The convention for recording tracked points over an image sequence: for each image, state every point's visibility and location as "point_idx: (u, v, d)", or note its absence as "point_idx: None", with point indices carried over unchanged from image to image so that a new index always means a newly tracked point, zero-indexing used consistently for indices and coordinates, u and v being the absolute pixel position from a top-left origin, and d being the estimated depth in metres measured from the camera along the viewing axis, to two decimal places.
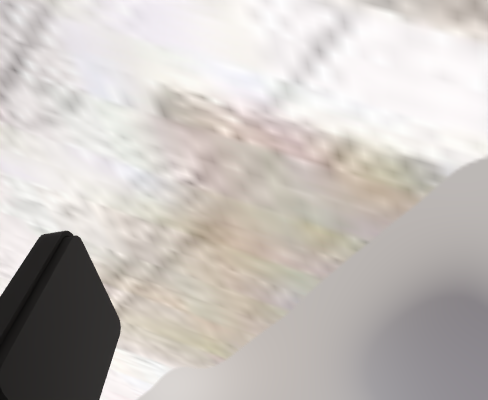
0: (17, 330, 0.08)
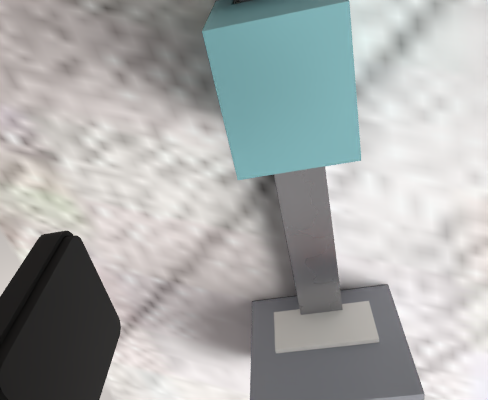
0: (17, 330, 0.08)
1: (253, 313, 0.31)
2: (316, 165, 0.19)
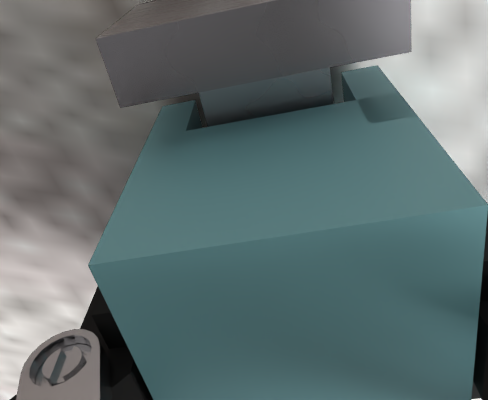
0: None
1: None
2: None
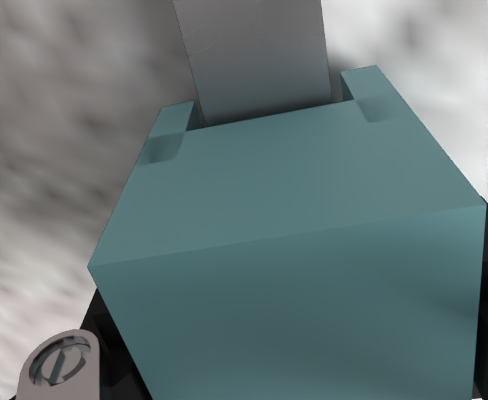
0: None
1: None
2: None
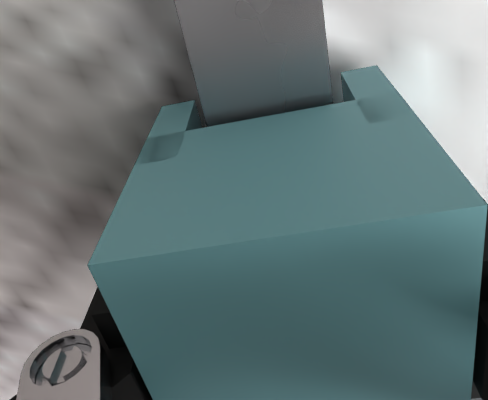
0: None
1: None
2: None
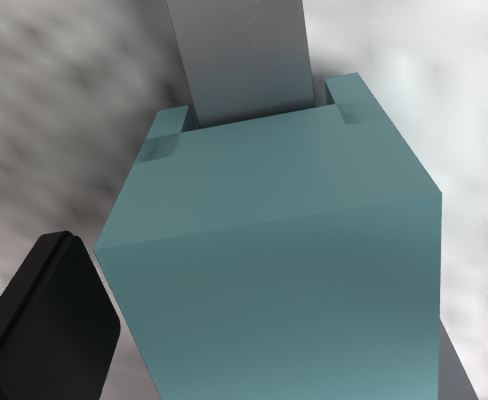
0: (17, 330, 0.08)
1: None
2: None
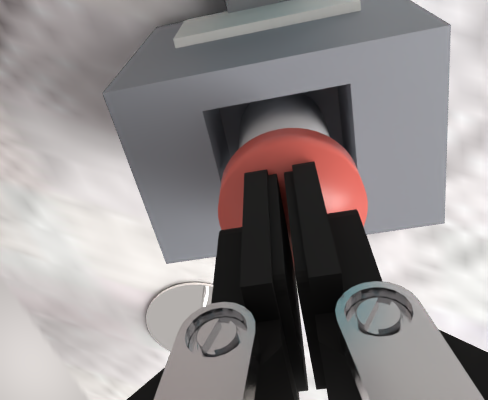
0: (277, 245, 0.08)
1: (153, 33, 0.18)
2: None
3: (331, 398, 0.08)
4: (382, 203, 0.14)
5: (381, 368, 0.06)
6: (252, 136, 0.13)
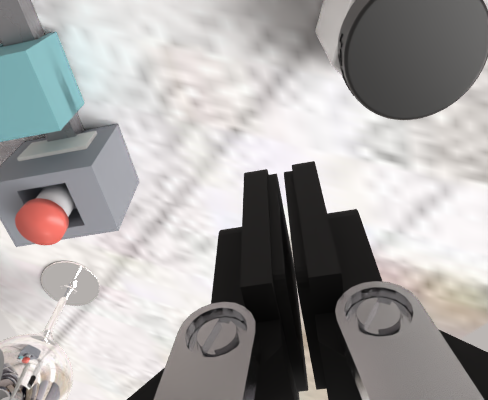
0: (277, 245, 0.08)
1: (20, 146, 0.41)
2: (38, 133, 0.35)
3: (331, 398, 0.08)
4: (92, 223, 0.37)
5: (381, 368, 0.06)
6: None
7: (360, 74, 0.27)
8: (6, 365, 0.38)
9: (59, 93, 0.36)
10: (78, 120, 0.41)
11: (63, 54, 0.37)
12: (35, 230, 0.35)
